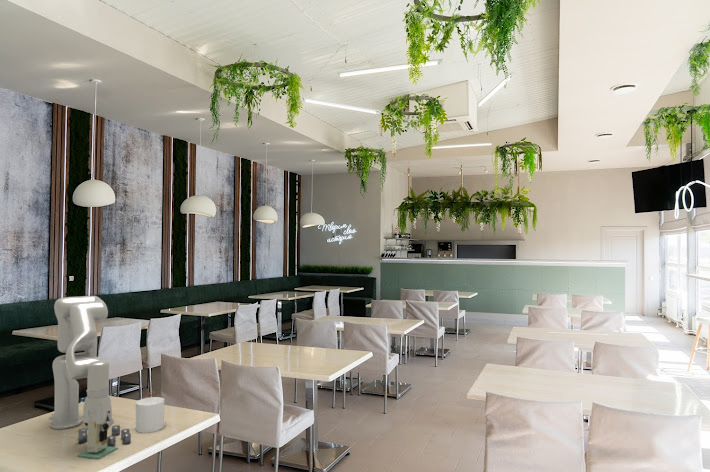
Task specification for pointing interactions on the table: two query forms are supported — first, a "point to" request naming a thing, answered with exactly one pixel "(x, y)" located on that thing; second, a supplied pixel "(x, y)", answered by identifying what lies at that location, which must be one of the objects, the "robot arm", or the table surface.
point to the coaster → (97, 455)
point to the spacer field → (111, 439)
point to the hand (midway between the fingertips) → (97, 439)
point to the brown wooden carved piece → (150, 395)
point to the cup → (149, 415)
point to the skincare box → (95, 437)
